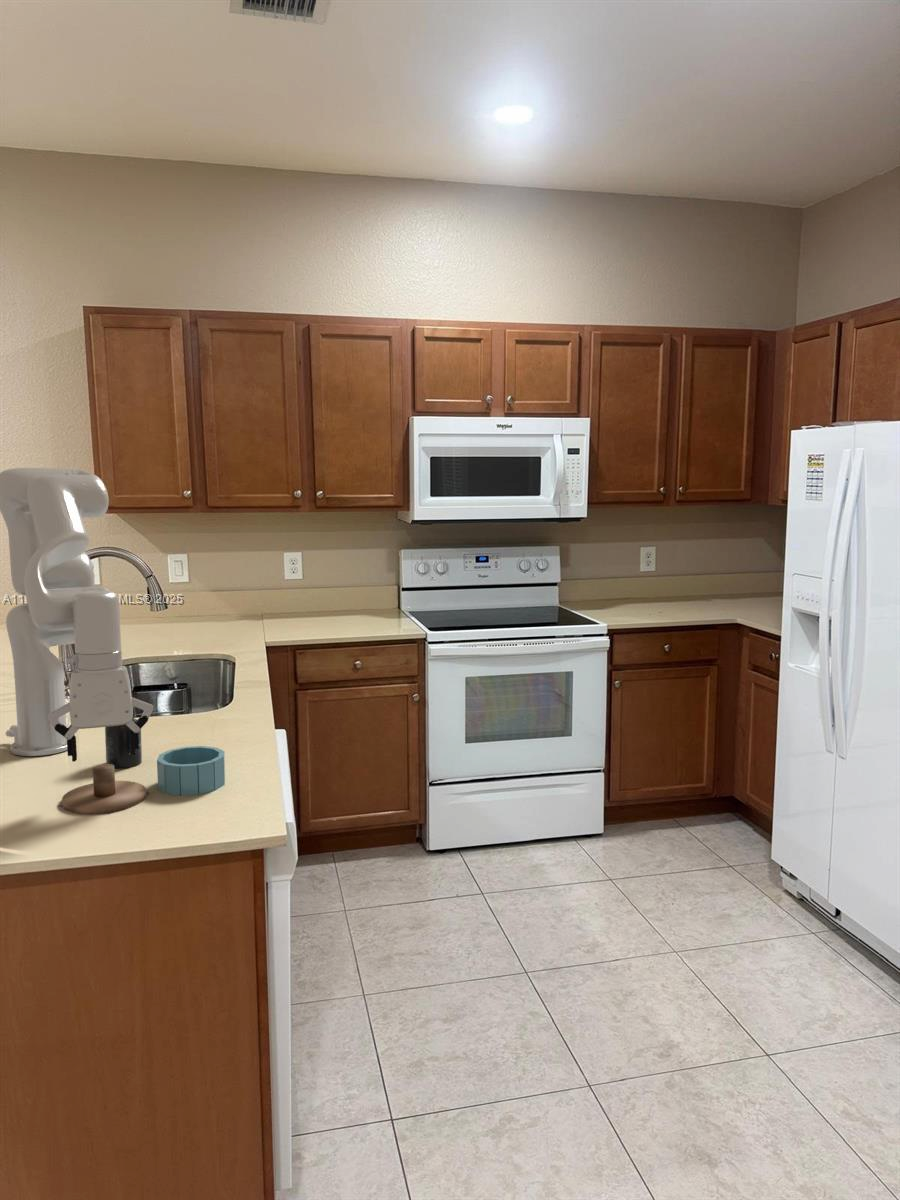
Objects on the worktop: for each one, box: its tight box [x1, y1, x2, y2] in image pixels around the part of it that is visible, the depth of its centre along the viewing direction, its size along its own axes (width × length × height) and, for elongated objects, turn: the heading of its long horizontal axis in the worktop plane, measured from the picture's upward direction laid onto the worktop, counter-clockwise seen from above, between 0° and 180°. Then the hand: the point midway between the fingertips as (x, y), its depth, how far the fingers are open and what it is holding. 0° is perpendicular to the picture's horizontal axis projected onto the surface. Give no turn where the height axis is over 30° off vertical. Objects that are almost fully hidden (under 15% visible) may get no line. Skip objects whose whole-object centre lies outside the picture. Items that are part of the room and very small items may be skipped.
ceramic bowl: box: [156, 745, 226, 797], centre depth 162 cm, size 12×12×6 cm
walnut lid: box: [61, 763, 147, 815], centre depth 154 cm, size 14×14×6 cm
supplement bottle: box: [104, 706, 143, 770], centre depth 173 cm, size 7×7×12 cm
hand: (104, 756), depth 152 cm, fingers open, 9 cm apart
